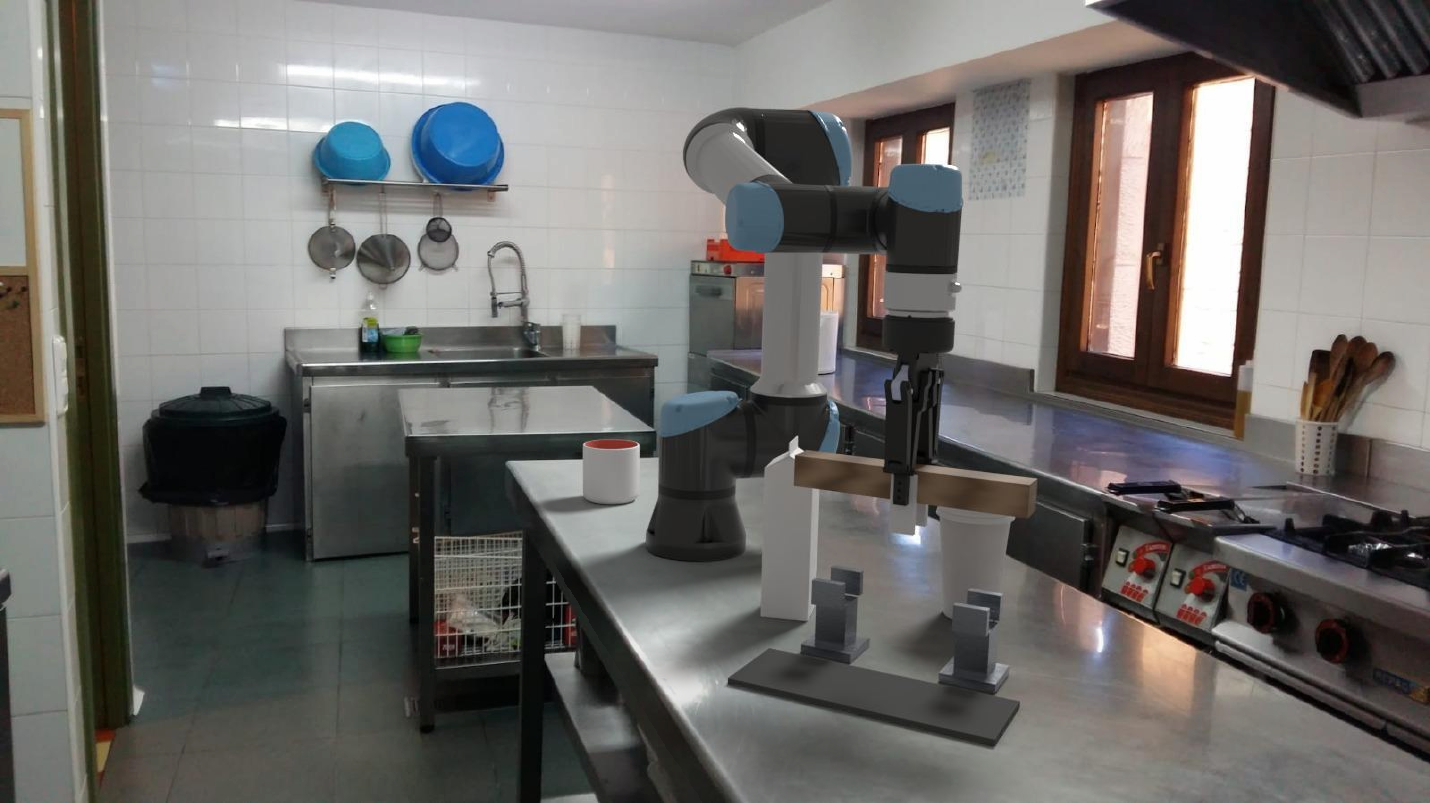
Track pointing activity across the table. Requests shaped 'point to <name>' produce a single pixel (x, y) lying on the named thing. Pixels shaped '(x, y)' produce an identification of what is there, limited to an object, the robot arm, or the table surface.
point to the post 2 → (976, 643)
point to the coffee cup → (971, 553)
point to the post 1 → (836, 616)
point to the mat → (879, 695)
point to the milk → (788, 541)
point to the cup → (611, 471)
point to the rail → (919, 483)
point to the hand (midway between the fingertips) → (908, 528)
